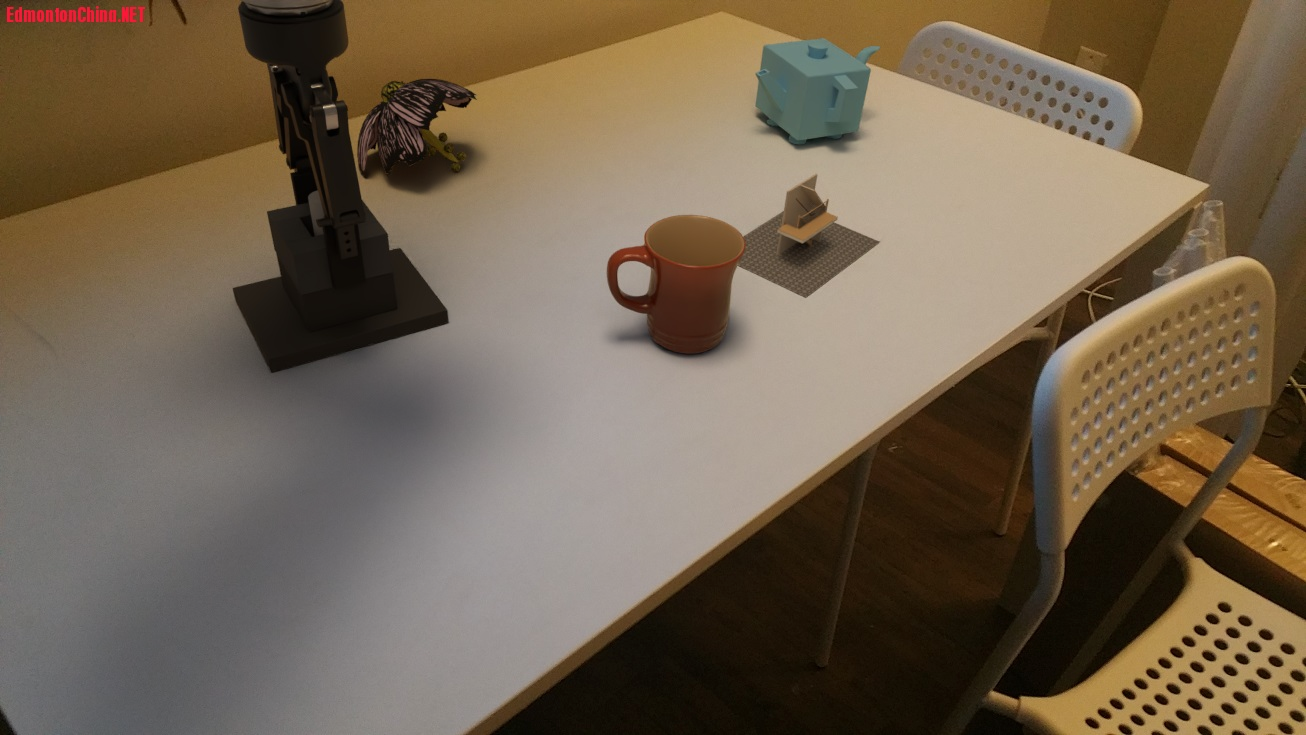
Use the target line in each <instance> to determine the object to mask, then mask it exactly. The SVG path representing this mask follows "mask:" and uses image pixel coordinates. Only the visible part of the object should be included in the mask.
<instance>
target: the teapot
mask: <svg viewBox="0 0 1306 735" xmlns="http://www.w3.org/2000/svg"><path fill="white" fill-rule="evenodd" d="M880 49H881V46H878V45H872V46H871V45H870V46H867V47H864V48H862V49H861V51H859V53H857V54H856V56H855V57H854V56H852V55H851V54H849V53H848V52H846V51H845V50H844V49H841V48H840V47H838V46H837V45H835V44H834V43H832V42H831V41H829V40H828V39H826V38H824V37H822V38H814V39H803V40H795V41H786V42H778V43H770V44H769V43H768V44H764V45H763V46H762V54H761V60H760V69H759V71H756V72H755V77H756V79H757V80H758V83H757V90H756V97H755V104H754V105H755V107H756V108H757V109H758V110H759V111H760V112H761V113H762V114H764V115H765V116H766V117H767V118H768V119H767V121H766V124H767V125H768V126H772V127H780V128H781V129H783V131H785V132H786V133H787V134H789V137H788V142H790V143H791V144H794V145H804V144H806V143H807V140H811V139H817V138H823V137H826V138H830V139H833V140H835V139H837V140H839V139H840V138H842V137H843V134H849V133H855V132H859V131H860V130H859V129H860V124H861V120H862V115H863V111H864V106H865V101H866V96H867V91H868V86H869V82H870V76H871V72H872V69H871V68H870V67H869V66H868V65H867V62H868V61H869V59H871V57H872V55H873V54H876V52H878V51H879V50H880Z"/></svg>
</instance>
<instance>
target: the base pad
mask: <svg viewBox="0 0 1306 735" xmlns="http://www.w3.org/2000/svg"><path fill="white" fill-rule="evenodd" d="M308 200H309V206H310V212H311V217H312V223H313V229H314V235H315V236H318V235H322V234H323V228H322V227H320V228H319V227H318V225H317V223H316V220H317V219H321V218H324V212H323V208H322V204H321V201H320V197H319V193H318V191H315V192H312V193H311V194H310V195H309V196H308ZM390 257H391V266H392V272H393V275H394V283H395V292H396V300H397V309H396V310H392V311H388V312H385V313H381V314H377V315H374V316H370V317H366V318H362V319H359V320H355V321H351V322H348V323H344V324H340V325H336V326H333V327H329V328H325V329H322V330H318V331H314V332H310V333H309V331H308V330H307V328H306V326H305V324H304V323H303V321H302V319H301V317H300V316H299V314H298V312H297V310H296V309H295V307H294V305H293V303H292V302H291V300H290V298H289V296H288V295H287V293H286V291H285V289H284V288H283V284H282V279H281V275H279V276H276V277H272V278H268V279H264V280H260V281H255V282H251V283H247V284H243V285H239V286H235V287H233V288H232V292H233V296H234V300H235V303H236V305H237V307H238V309H239V311H240V313H241V315H242V317H243V319H244V321H245V323H246V325H247V327H248V329H249V331H250V334H251V335H252V337H253V339H254V341H255V343H256V345H257V347H258V350H259V351H260V353H261V355H262V357H263V359H264V362H265V363H266V365H267V368H268V369H269V371H270V373H275V372H279V371H283V370H286V369H290V368H293V367H296V366H300V365H303V364H304V365H305V364H307V363H308V364H309V363H311V362H315V361H318V360H322V359H325V358H328V357H333V356H335V355H336V356H337V355H339V354H344V353H347V352H349V351H353V350H358V349H361V348H364V347H368V346H371V345H375V344H379V343H381V342H385V341H388V340H392V339H396V338H400V337H404V336H407V335H411V334H414V333H416V332H417V333H418V332H420V331H421V332H422V331H425V330H428V329H431V328H435V327H439V326H442V325H445V324H449V312H448V311H449V310H448V309H447V307H446V306H445V304H444V303H443V301H441V299H440V298H439V297H438V295H437V294H436V293H435V291H434V290H433V288H432V287H431V286H430V285H429V284H428V282H427V280H426V279H425V278H424V277H423V276H422V274H421V273H420V272H419V270H418V269H417V268H416V266H415V265H414V263H413V262H412V260H410V259H409V257H408V256H407V254H406V253H405V251H403V249H402V248H401V247H398V248H393V249H390Z"/></svg>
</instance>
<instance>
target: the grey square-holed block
mask: <svg viewBox="0 0 1306 735" xmlns="http://www.w3.org/2000/svg"><path fill="white" fill-rule="evenodd" d="M362 203H363V209H364V212H365V215H366V217H365V219H366V220H365V222H363V223H358V229H359V236H360V243H361V250H362V257H363V264H364V271H365V278H366V279H368V278H372V277H376V276H380V275H384V274H388V273H392V266H391V257H390V250H391V249H390V241H389V234H388V232H387V230H386V229H385V228H384V226H383V225H382V223H380V221H379V220H378V219H377V217H376V216H375V215H374V213H373V212H372V211H371V209H370V207H368V205H367V204H366V203H365V201H364V200H363V199H362ZM266 213H267V214H266V215H267V221H268V223H269V224H268V225H269V229H270V234H271V240H272V244H273V250H274V252H275V254H276V253H277V254H276V256H277V255H278V257H279V258H280V260H281V262H282V264H283V265H284V267H285V269H286V271H287V272H288V274H289V276H290V277H291V279H292V281H293V282H294V284H295V286H296V288H297V289H298V291H299V293H300V294H301V295H304V294H308V293H312V292H316V291H320V290H324V289H328V288H332V287H333V286H332V281H331V275H330V269H329V263H328V257H327V251H326V246H325V240H324V234H322V235H318V236H315V235H314V229H313V223H312V217H311V212H310V206H309V203H304V204H299V205H296V204H294V205H290V206H286V207H285V206H284V207H281V208H275V209H270V210H267V211H266Z"/></svg>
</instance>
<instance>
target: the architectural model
mask: <svg viewBox="0 0 1306 735" xmlns="http://www.w3.org/2000/svg"><path fill="white" fill-rule="evenodd" d="M817 180H818V173H815V174H813V175H812V176H810V177H808V178H806V179H805V180H803V181H801V182H800V183H798V184H796V185H795V186H793V187H791V188H789V189H788V190H786V195H785V201H784V206H783V211H781V212H780V213H777V215H775V216H774V217H773V216H772V218H770V219H768V220H767V221H765V222H764V223H762V224H760V225H759V226H758V227H756V228H755V229H752V230H751V231H750V232H748V233H746V234H744V235H742V236H743V237H744V240H745V244H746V247H745V251H744V254H743V256H742V258H741V260H740V262H739V264H738V266H739V267H741V268H742V269H745V270H747V271H749V272H751V273H754V274H756V275H757V276H759V277H761V278H764V279H766V280H768V281H770V282H772V283H774V284H777V285H778V286H781V287H783V288H785V289H787V290H789V291H791V292H792V293H793V292H794V293H796V294H797V295H800V296H802V297H804V298H807V297H809V296H810V295H812V294H813V293H814V292H815V291H817V290H818V289H820V287H822V286H823V285H825V284H826V283H828V282H829V281H830V280H831V279H833V278H834V277H835V276H837V275H838V274H839V273H841V272H842V271H844V270H845V269H846V268H847V267H849V266H850V265H851V264H852V263H854V262H856V261H857V260H858V259H860V258H861V257H862V256H863V255H865V254H866V253H867V252H869V251H870V250H872V249H873V248H875V247H876V246H877V245H878V244H879V243H880V240H877V239H875V238H872V237H870V236H867V235H866V234H863V233H860V232H858V231H856V230H853V229H851V228H849V227H846V226H844V225H842V224H839V223H837V221H838V218H839V217H838V216H837V215H835V214H832V213H830V212H827V211H828V206H829V202H830V200H829V198H826V200H825V201H824V202H823V200H822V199H821V197H820V196H819V194H818V192H817V191H816V187H817V186H816V185H817V182H818V181H817ZM738 266H737V267H738Z"/></svg>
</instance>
